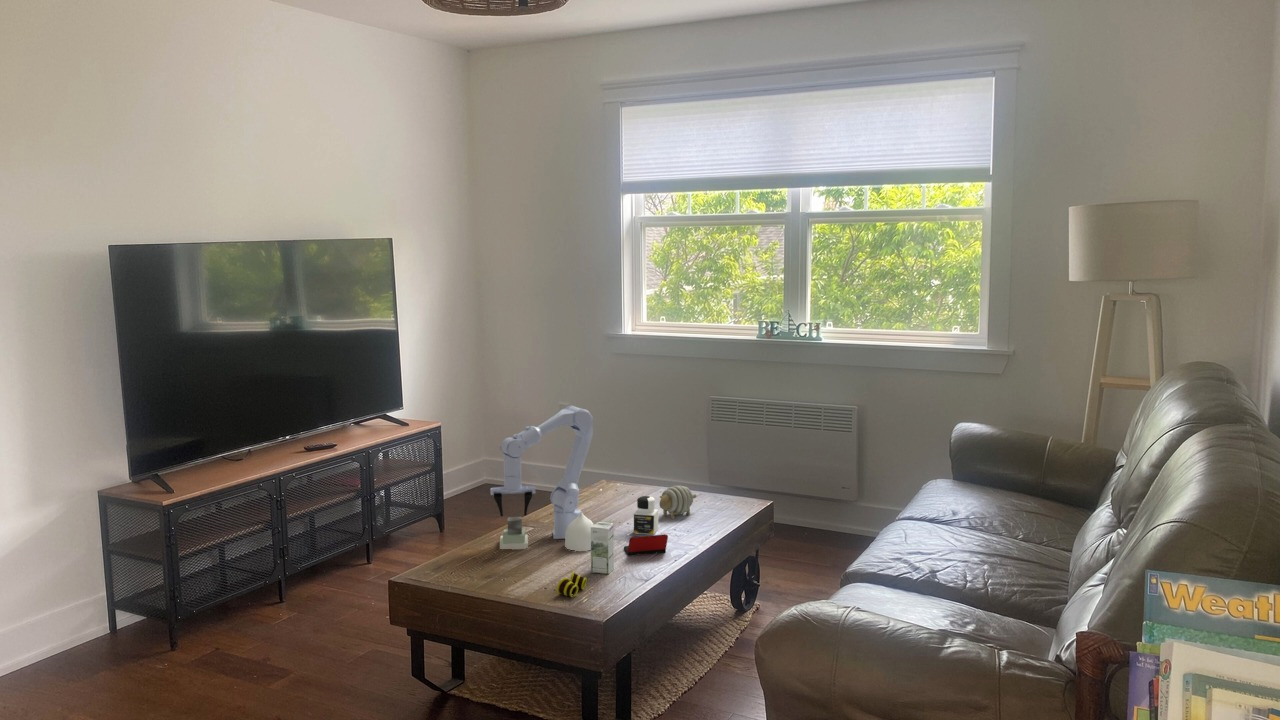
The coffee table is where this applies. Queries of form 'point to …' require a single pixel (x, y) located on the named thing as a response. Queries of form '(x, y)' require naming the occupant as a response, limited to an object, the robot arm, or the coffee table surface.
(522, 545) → the tower base slab
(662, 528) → the coffee table surface
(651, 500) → the medicine bottle
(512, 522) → the slate cube
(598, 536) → the syrup box
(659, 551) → the handheld game console
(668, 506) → the toy sheep
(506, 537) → the tower top slab
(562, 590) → the opera glasses
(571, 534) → the teardrop
